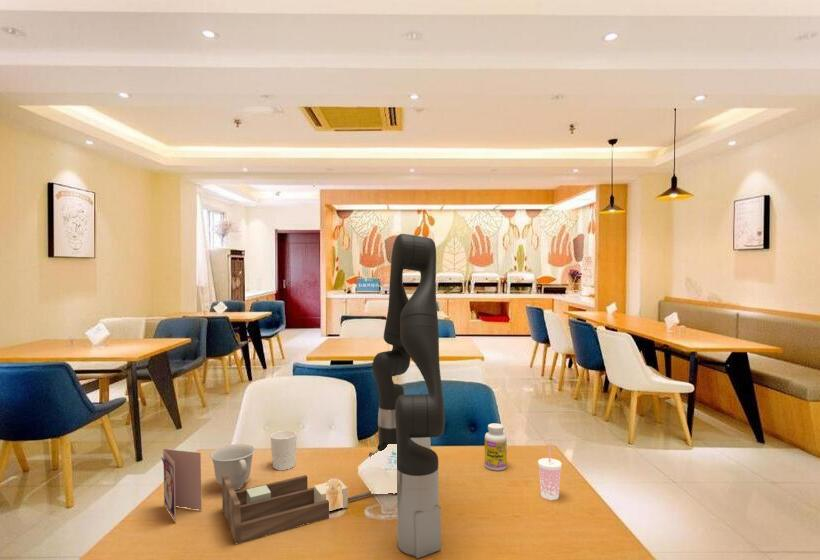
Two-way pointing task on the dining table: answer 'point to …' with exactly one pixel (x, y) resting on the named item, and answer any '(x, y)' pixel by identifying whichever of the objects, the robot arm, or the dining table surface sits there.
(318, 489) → the cream long block
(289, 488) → the lane rack
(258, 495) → the sage block
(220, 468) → the teacup
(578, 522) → the dining table surface
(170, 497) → the greeting card
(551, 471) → the beverage cup
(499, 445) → the supplement bottle
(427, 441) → the skincare box
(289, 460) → the white cup
